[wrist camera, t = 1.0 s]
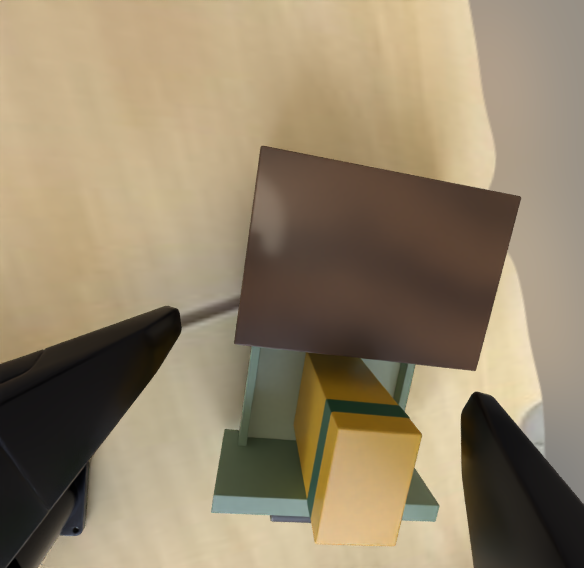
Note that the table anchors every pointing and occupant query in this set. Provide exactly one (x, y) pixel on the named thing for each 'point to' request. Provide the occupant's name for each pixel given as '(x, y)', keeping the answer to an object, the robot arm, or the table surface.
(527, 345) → the table surface
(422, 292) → the cabinet
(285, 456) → the drawer
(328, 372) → the crayon box
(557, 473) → the robot arm
